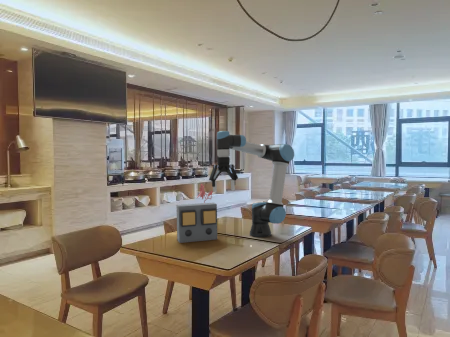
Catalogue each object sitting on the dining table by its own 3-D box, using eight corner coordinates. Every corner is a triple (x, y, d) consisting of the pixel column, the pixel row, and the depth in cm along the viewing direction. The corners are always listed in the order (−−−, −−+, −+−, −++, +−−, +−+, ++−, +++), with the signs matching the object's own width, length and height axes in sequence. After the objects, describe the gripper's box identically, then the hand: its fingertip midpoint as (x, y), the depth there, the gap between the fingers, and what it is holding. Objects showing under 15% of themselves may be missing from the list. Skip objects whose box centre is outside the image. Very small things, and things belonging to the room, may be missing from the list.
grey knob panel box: (177, 240, 236) (176, 204, 235) (214, 236, 244) (213, 202, 243) (180, 243, 226) (179, 206, 225) (218, 239, 234) (217, 204, 234)
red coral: (216, 224, 287) (214, 182, 286) (207, 231, 262) (205, 184, 261) (198, 224, 291) (196, 182, 290) (187, 231, 266) (185, 185, 265)
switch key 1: (182, 224, 228) (181, 212, 228) (194, 223, 231) (193, 211, 230) (183, 225, 225) (182, 213, 225) (195, 224, 228) (194, 212, 228)
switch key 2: (202, 222, 233) (202, 210, 232) (214, 221, 235) (214, 210, 235) (204, 223, 230) (203, 211, 229) (215, 222, 232) (215, 210, 232)
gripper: (235, 156, 222) (236, 189, 223) (202, 157, 208) (203, 192, 208) (243, 156, 216) (243, 190, 217) (209, 156, 202) (210, 193, 202)
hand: (224, 191), depth 213 cm, fingers open, 13 cm apart
